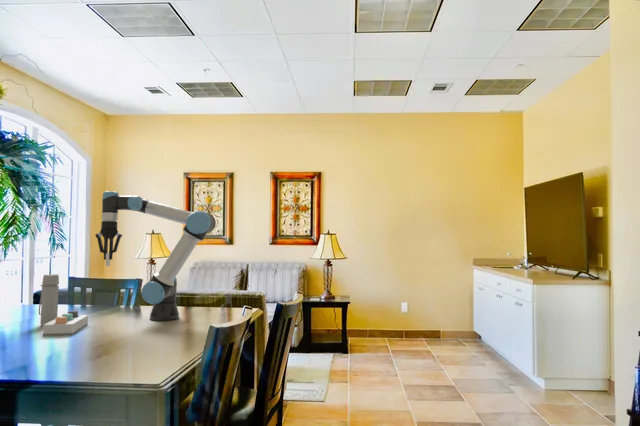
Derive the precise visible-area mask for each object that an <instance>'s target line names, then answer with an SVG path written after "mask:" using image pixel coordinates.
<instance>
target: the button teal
mask: <svg viewBox="0 0 640 426" xmlns="http://www.w3.org/2000/svg"><path fill="white" fill-rule="evenodd" d="M61 316H65V317H67V321H72V317H73V314H68V313H63V314H61Z"/></svg>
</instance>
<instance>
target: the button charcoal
mask: <svg viewBox="0 0 640 426" xmlns="http://www.w3.org/2000/svg"><path fill="white" fill-rule="evenodd" d="M67 314H73V317H72V318H77V317H78V315H79V310H70V311H67Z"/></svg>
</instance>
